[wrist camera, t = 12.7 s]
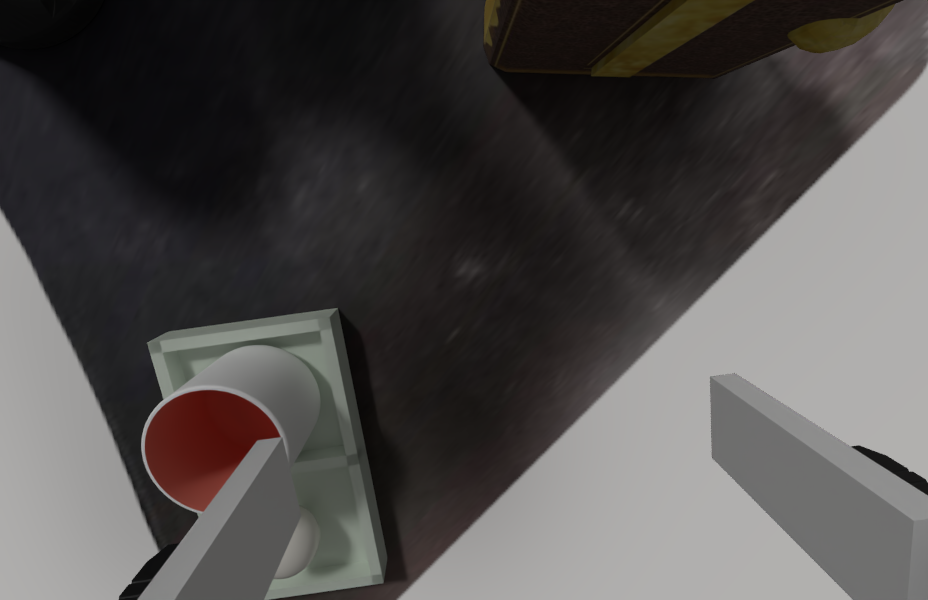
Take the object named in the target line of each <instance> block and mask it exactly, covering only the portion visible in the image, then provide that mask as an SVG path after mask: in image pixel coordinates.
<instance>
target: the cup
mask: <svg viewBox="0 0 928 600" xmlns="http://www.w3.org/2000/svg"><path fill="white" fill-rule="evenodd" d="M320 402H321V401H320V392H319V388H318V385H317V382H316V380H315V378H314V376H313V374H312V373H311V371H310V370H309V369H308V367H307V366H306V365H305V364H304V363H303V362H302V361H301V360H299V359H298V358H297V357H295V356H294V355H292V354H291V353H289V352H287V351H285V350H282V349H280V348H276V347H273V346H267V345H250V346H244V347H240V348H237V349H234V350H232V351H230V352H228V353H226V354H225V355H223V356H222V357H220V358H219V359H218V360H216V361H215V362H214V363H212V364H211V365H210V366H208V367H207V368H206V369H204V370H203V371H202V372H200V373H199V374H197V375H196V376H195V377H193V378H192V379H191V380H189V381H188V382H187V383H185V384H184V385H183V386H181V387H180V388H179V389H177V390H176V391H175V392H173V393H172V394H171V395H169V396H168V397H166V398H165V399H164V400H163V401H162V402H160V403H159V404H158V405H157V406H156V408H155V409H154V410H153V411H152V413H151V414H150V416H149V418H148V420H147V422H146V424H145V427H144V430H143V434H142V443H141V447H142V456H143V460H144V464H145V467H146V469H147V472H148V474H149V475H150V477H151V479H152V480H153V482H154V483H155V485H156V486H157V487H158V488H159V489H160V490H161V491H162V492H163V493H164V494H165V495H166V496H167V497H168V498H169V499H171V500H172V501H174V502H175V503H177V504H178V505H180V506H182V507H184V508H186V509H188V510H191V511H193V512H197V513H200V514H202V513H203V512H204V511H205V509H206V508H207V507H208V505H209V504H210V503H211V501H212V500H213V499H214V497H215V496H216V495H217V493H218V492H219V491H220V489H221V488H222V487H223V485H224V484H225V483H226V481H227V480H228V479H229V477H230V476H231V475H232V473H233V472H234V471H235V469H236V468H237V467H238V465H239V464H240V463H241V461H242V460H243V459H244V457H245V456H246V455H247V453H248V452H249V451H250V449H251V448H252V447H253V445H254V444H255V443H256V442H257V440H264V439H271V438H278V437H283V442H284V446H285V450H286V454H287V458H288V462H289V467H290V470H291V468H292V466H293V464H294V462H295V461H296V459H297V457H298V455H299V453H300V452H301V450H302V448H303V446H304V444H305V443H306V441H307V439H308V437H309V435H310V434H311V432H312V430H313V428H314V426H315V424H316V422H317V420H318V416H319V412H320Z"/></svg>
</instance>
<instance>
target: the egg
mask: <svg viewBox="0 0 928 600" xmlns="http://www.w3.org/2000/svg"><path fill="white" fill-rule="evenodd" d="M299 508H300V512H301V518H300V520H299V522H298V524H297V527H296V529H295V531H294V533H293V536H292V538H291V540H290V542H289V545H288V547H287V549H286V551H285V554H284V556H283V558H282V560H281V563H280V565H279V567H278V569H277V572H276V574H275V576H274V578H273V579H286V578H290V577H292V576H295V575H297V574H298V573H300V572H302V571H303V570H304V569H305V568H306V567H307V566H308V565H309V564H310V563H311V562H312V560H313V559H314V557H315V555H316V553H317V551H318V548H319V544H320V527H319V524H318V521H317V519H316V518H315V516H314V515H313V514H312V512H311V511H309V510H308V509H307V508H305V507H303V506H301V505H299Z"/></svg>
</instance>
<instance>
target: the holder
mask: <svg viewBox="0 0 928 600" xmlns="http://www.w3.org/2000/svg"><path fill="white" fill-rule="evenodd" d="M147 344H148V348H149V351H150V354H151V358H152V361H153V365H154V368H155V371H156V375H157V378H158V382H159V385H160V388H161V392H162V395H163V399H165V398H166V397H168V396H169V395H171V394H172V393H173V392H175V391H176V390H177V389H179V388H180V387H181V386H183V385H184V384H185V383H187V382H188V381H189V380H191V379H192V378H193V377H195V376H196V375H197V374H199V373H200V372H202V371H203V370H204V369H206V368H207V367H208V366H210V365H211V364H212V363H214V362H215V361H216V360H218V359H219V358H220V357H222V356H223V355H225V354H226V353H228V352H230V351H232V350H234V349H237V348H240V347H244V346H250V345H267V346H273V347H276V348H280V349H282V350H285V351H287V352H289V353H291V354H292V355H294V356H295V357H297V358H298V359H299V360H301V361H302V362H303V363H304V364H305V365H306V366H307V367H308V369H309V370H310V371H311V373H312V374H313V376H314V378H315V380H316V382H317V385H318V388H319V392H320V401H321V402H320V412H319V416H318V420H317V422H316V424H315V426H314V428H313V430H312V432H311V434H310V435H309V437H308V439H307V441H306V443H305V444H304V446H303V448H302V450H301V452H300V453H299V455H298V457H297V459H296V461H295V462H294V464H293V466H292V468H291V470H290V471H291V475H292V479H293V483H294V487H295V492H296V496H297V500H298V504H299V505H301V506H303V507H305V508H307V509H308V510H309V511H311V512H312V514H313V515H314V516H315V518H316V519H317V521H318V524H319V527H320V544H319V548H318V551H317V553H316V555H315V557H314V559H313V560H312V562H311V563H310V564H309V565H308V566H307V567H306V568H305V569H304V570H303V571H302V572H300V573H298V574H297V575H295V576H292V577H290V578H286V579H273V581H272V583H271V585H270V587H269V590H268V592H267V594H266V596H265V599H264V600H269V599H276V598H283V597H290V596H297V595H304V594H311V593H318V592H325V591H332V590H339V589H346V588H353V587H360V586H367V585H374V584H381V583H384V577H385V571H386V565H387V553H386V548H385V543H384V538H383V533H382V528H381V523H380V518H379V512H378V507H377V502H376V497H375V492H374V487H373V482H372V477H371V472H370V467H369V462H368V457H367V452H366V447H365V442H364V437H363V432H362V427H361V422H360V417H359V412H358V407H357V402H356V397H355V392H354V387H353V382H352V377H351V372H350V367H349V362H348V357H347V352H346V347H345V342H344V337H343V332H342V327H341V322H340V317H339V311H338V308H334V309H327V310H320V311H313V312H306V313H299V314H291V315H284V316H277V317H270V318H263V319H256V320H248V321H241V322H234V323H227V324H220V325H213V326H206V327H198V328H191V329H184V330H177V331H170V332H167V333H165V334H163V335H161V336H159V337H157V338H155V339H153V340H151V341H149V342H148V343H147ZM197 514H198V517H200V516H201V514H200V513H197Z"/></svg>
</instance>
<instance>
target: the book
mask: <svg viewBox="0 0 928 600" xmlns="http://www.w3.org/2000/svg"><path fill="white" fill-rule="evenodd" d="M900 1H903V0H486V4H485V9H484V39H483V47H484V50H485V53H486V56H487V59H488V62H489V64H490V65H492V66H494V67H496V68H498V69H500V70H502V71H504V72H515V73H549V74H583V75H591V76H606V77H631V76H651V77H685V78H717V77H720V76H722V75H724V74H727V73H729V72H732V71H734V70H736V69H739V68H741V67H744V66H746V65H749V64H751V63H753V62H756V61H758V60H761V59H763V58H765V57H768V56H770V55H773V54H775V53H777V52H780V51H782V50H785V49H787V48H789V47H792V46H794V45H796V46H797V47H798V48H799V49H802V50H805V51H809V52H812V53H824V52H829V51H834V50H838V49H841V48H843V47H846V46H849V45H852V44H854V43H855V42H857V41H858V40H860V39H861V38H863V37H864V36H866V35H867V34H869V33H870V32H871V31H873V30H874V29H875V28H876V27H878V26H879V24H880V23H881V22H882V21H883V20H884V18H885V17H886V16H887V15H888V13H889V12H890V11H891V10H892V9H893V7H894V5H895V4H896V3H898V2H900Z"/></svg>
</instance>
